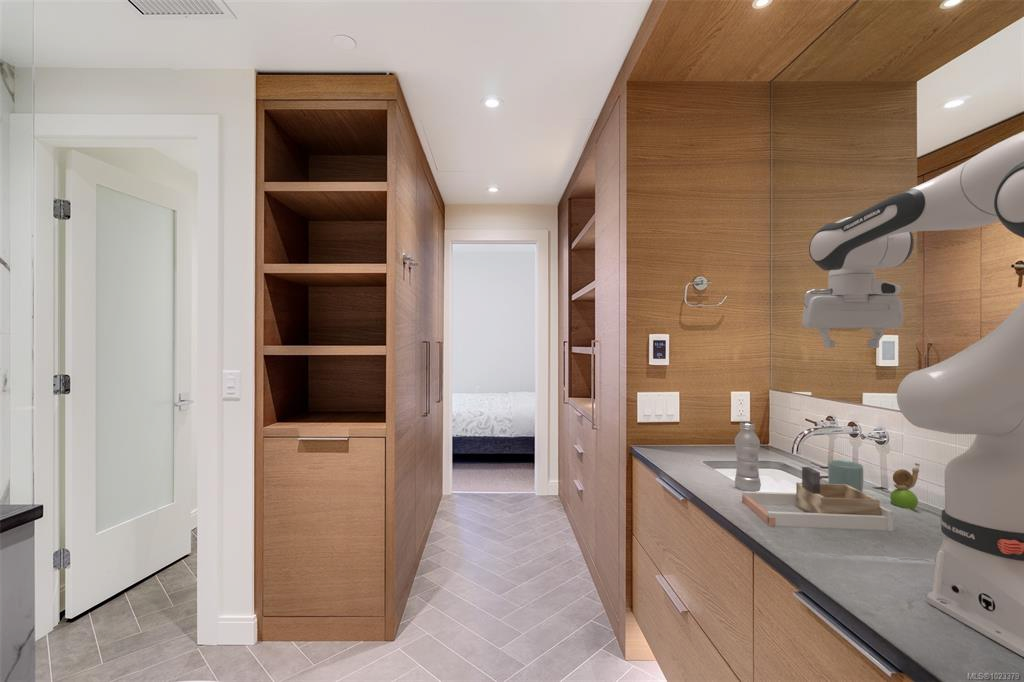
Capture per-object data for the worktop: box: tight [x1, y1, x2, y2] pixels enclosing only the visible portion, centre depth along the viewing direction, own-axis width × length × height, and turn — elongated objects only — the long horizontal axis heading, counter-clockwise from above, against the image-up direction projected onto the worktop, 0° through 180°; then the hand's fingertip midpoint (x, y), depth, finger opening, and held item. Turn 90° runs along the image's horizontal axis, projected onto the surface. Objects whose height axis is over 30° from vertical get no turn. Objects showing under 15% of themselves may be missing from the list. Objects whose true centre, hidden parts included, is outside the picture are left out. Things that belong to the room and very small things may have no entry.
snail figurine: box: [889, 462, 921, 511], centre depth 117 cm, size 5×6×12 cm
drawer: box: [795, 466, 881, 516], centre depth 110 cm, size 12×12×11 cm
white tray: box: [741, 490, 894, 532], centre depth 110 cm, size 16×26×6 cm, turn 84°
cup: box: [827, 459, 864, 493], centre depth 124 cm, size 8×8×10 cm
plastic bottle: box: [733, 421, 762, 492], centre depth 131 cm, size 6×7×20 cm
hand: (851, 347), depth 106 cm, fingers open, 8 cm apart
